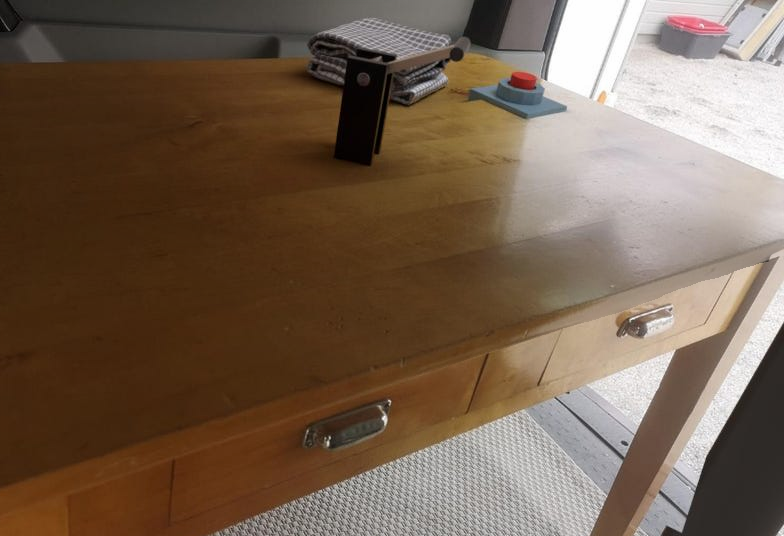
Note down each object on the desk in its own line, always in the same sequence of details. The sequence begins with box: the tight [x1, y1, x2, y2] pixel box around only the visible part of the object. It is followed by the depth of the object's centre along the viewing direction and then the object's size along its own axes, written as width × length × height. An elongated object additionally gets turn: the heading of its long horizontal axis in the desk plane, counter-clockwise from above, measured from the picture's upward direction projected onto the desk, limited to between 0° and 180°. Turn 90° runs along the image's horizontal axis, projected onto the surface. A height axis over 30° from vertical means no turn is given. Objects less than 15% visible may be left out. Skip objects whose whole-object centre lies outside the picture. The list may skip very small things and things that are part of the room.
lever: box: [370, 36, 471, 74], centre depth 82 cm, size 12×5×2 cm, turn 72°
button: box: [509, 71, 538, 90], centre depth 110 cm, size 4×4×2 cm
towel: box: [305, 17, 452, 106], centre depth 115 cm, size 15×18×8 cm
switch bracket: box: [333, 47, 397, 167], centre depth 86 cm, size 12×9×13 cm
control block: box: [467, 77, 568, 120], centre depth 112 cm, size 11×9×4 cm
